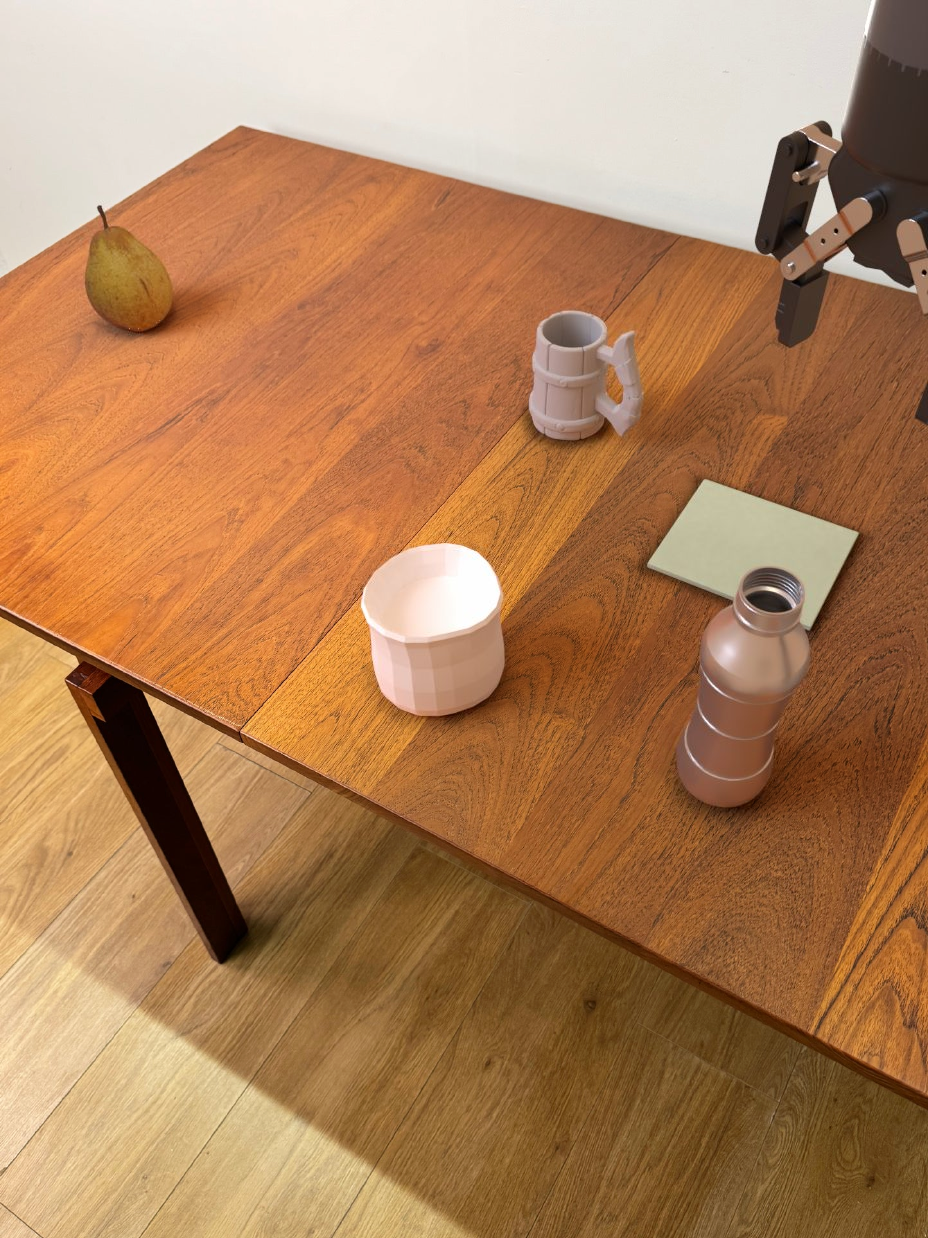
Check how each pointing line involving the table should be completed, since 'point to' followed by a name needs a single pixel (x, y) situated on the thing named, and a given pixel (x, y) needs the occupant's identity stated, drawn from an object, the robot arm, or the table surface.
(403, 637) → the cup
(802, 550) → the mat
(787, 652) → the metal bottle
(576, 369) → the mug
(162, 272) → the fruit
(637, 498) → the table surface
